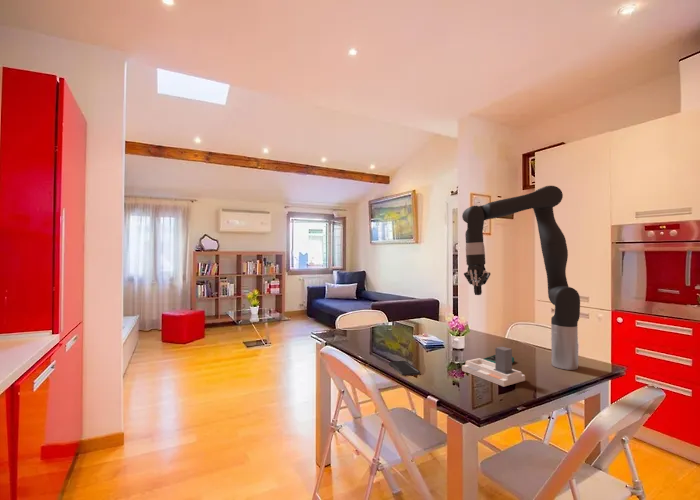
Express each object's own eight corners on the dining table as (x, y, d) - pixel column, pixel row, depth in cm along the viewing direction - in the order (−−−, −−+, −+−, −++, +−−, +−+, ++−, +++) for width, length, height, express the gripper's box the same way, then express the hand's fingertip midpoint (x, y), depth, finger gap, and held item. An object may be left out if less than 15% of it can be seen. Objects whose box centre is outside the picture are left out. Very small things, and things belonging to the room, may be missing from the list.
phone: (404, 360, 147) (421, 372, 132) (404, 363, 147) (421, 375, 132) (387, 362, 145) (402, 373, 130) (387, 364, 145) (402, 376, 130)
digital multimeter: (515, 362, 147) (515, 356, 148) (497, 369, 138) (497, 362, 138) (498, 358, 153) (498, 352, 153) (481, 365, 144) (480, 358, 144)
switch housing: (482, 365, 142) (482, 357, 142) (525, 380, 125) (525, 371, 125) (461, 370, 136) (461, 361, 136) (503, 386, 120) (503, 376, 120)
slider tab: (502, 370, 130) (502, 346, 130) (514, 374, 125) (513, 349, 125) (493, 372, 127) (493, 347, 127) (505, 376, 123) (505, 351, 123)
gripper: (494, 252, 139) (497, 295, 139) (470, 254, 151) (472, 293, 151) (481, 253, 136) (483, 296, 135) (457, 254, 148) (459, 294, 147)
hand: (478, 294), depth 143 cm, fingers closed
